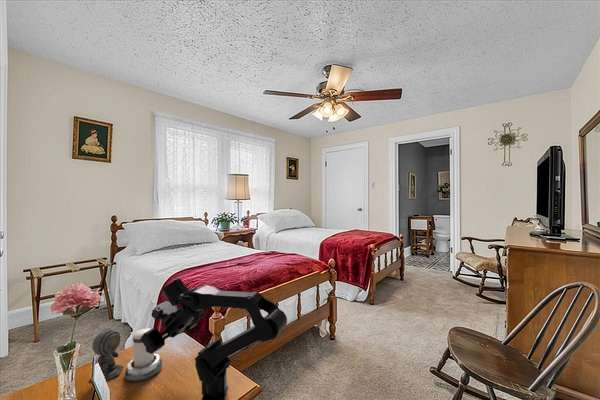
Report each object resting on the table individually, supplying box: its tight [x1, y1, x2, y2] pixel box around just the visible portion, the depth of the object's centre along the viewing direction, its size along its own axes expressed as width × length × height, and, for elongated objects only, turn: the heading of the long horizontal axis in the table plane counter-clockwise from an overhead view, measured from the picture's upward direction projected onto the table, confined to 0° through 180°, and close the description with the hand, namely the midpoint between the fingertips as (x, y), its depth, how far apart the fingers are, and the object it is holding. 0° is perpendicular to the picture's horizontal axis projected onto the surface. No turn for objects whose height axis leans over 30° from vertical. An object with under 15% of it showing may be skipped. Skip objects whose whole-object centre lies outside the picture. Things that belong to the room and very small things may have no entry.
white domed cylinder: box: [132, 327, 154, 368], centre depth 93 cm, size 6×6×12 cm
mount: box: [124, 352, 163, 383], centre depth 94 cm, size 11×11×4 cm
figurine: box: [88, 329, 124, 383], centre depth 92 cm, size 9×10×15 cm
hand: (158, 343), depth 91 cm, fingers open, 9 cm apart
